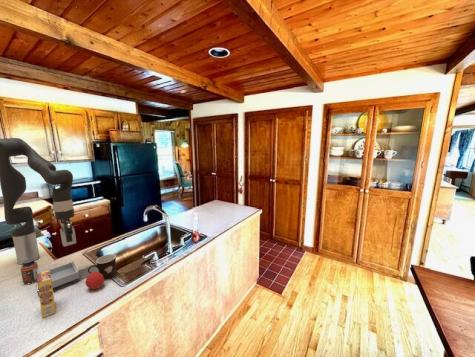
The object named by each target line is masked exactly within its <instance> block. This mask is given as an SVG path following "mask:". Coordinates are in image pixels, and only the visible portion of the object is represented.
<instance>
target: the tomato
mask: <svg viewBox="0 0 475 357" xmlns="http://www.w3.org/2000/svg"><path fill="white" fill-rule="evenodd" d="M103 274H104V273H103ZM103 274H101V273H99V272H93V273H91V274H89V275H88V276H87V278H85V282H84V284H85V286H86V287H87V288H88V289H90V290H96V289H98V288H100V287H102V285H104V282H105V280H104V277H103Z"/></svg>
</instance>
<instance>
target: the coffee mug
mask: <svg viewBox="0 0 475 357" xmlns="http://www.w3.org/2000/svg"><path fill="white" fill-rule="evenodd" d="M116 260H117V256H116V254H112V253H110V254H105V255H101V256H100V257H98V258H97V259H96V261H95V262H96V263H95V264H97V265H94V264H93V266H91V265H90V266H91V267H97V268H98V270H99V273H101V274H103V273H104V274H103V277H104V281H107V280H110V279H112V278H113V277H115V276H116V265H117V263H116ZM88 267H89V266H88ZM91 267H89V268H88V272H89V269H90V268H91ZM89 273H90V274H91V272H89Z"/></svg>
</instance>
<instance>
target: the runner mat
mask: <svg viewBox="0 0 475 357" xmlns="http://www.w3.org/2000/svg"><path fill="white" fill-rule="evenodd" d="M93 265H97V263H95V264H94V263H93ZM93 265H92V264H91V265H89V266H86V267H84V268H81V269H78V271H79V277H80V278H77V280H76V281H75V282H72V281H70V282H67V283H65V284H62V285H59V286H57V287H54V288H53V292H55V291H57V290H59V289H62V288H64V287H67V286H70V285H72V284H74V283H76V282H77V283H78V282H79V281H82V280H86V278H87V276H88V275H89V274H90V273H89V272H91V273H93V272H99V270H98V268H97V267H91V266H93ZM89 267H91V268H90V269H89V272H88V268H89ZM36 291H37V290H36ZM37 297H38V298H39V291H37Z"/></svg>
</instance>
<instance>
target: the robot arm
mask: <svg viewBox="0 0 475 357" xmlns="http://www.w3.org/2000/svg"><path fill="white" fill-rule="evenodd" d="M19 156H24V157H27V165H28V167H29V168H30V169H31V170H33V171H34V172H35V173H37V174H39V175H40V176H41V178H42V179H43V180H44V182H46V183H47V184H48V185H51V186H56V185H57V186H58V185H59V187H58V188H56V189H54V190H52V193H51V194H52V201H53V204H52V206H53V212H54V219H55V220H56V221H60V225H61V229H63V231H65V235H66V239H67V242H71V241H73V240H72V234H73V231H72V227H73V222H72V220H71V218H74V217H75V208H74V202H73V198H72V186H73V181H74V175H73V173H72V172H71V171H70V170H69V169H58V170H57V167H56V166H55V165H54V164H53V163H52V162H50V161H49V160H47V159H46V158H44V157H43V156H41V155H40V154H39V153H38V152H37V151H36V150H35V149H34V148H32V146H30V145H29V144H28V143H27V142H26V141H24V139H22V138H20V137H9V138H0V190H1V194H2V199H3V208H4V209H3V212H4V220H5V222H6V224H7V225H9V226H14V225H18V224H22V223H23V224H22V225H21V226H20V227H17V228H15V229H14V230H13V231H12V232H11V234H12V235H11V236H12V241H13V246H14V250H15V251H14V252H15V257H16V260H17V264H18V265H23V261H25V260H28V259H34V262H36V261H37V260H38V259H39V258H40V251H39V246H38V240H37V235H36V228H35V222H34V213H33V208H32V207H30V206H22V207H15V205H16V203H17V202H18V201H19V199H20V198H21V197H22V196H23V195H24V193H26V190H27V180H26V177H25V175H23V173H21V172H20V171H19V170H17V169H16V168H15V167H14V166H13V165H12V164H11V160H10V158H12V157H19ZM68 231H70V232H69V233H67V232H68Z"/></svg>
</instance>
